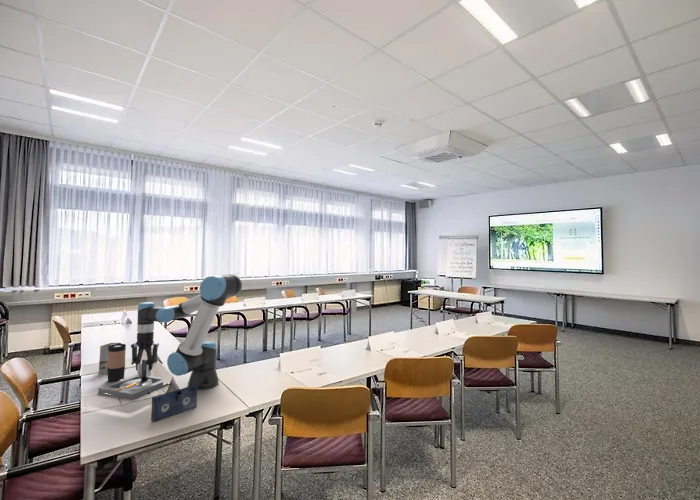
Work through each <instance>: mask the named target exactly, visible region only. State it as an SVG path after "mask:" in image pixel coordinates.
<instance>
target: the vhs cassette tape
mask: <svg viewBox="0 0 700 500" xmlns="http://www.w3.org/2000/svg"><path fill="white" fill-rule="evenodd" d="M197 401H198V390H197V386H196V385H193V386H190V387H188V386H187V387H183V388H180V389H179V388H178V389H176V390H173V391H168V392H165V393H162V394H158V395H154V396H152V397H151V412H150V413H151V416H150V419H151V420H150V421H151V422H152V423H156V422H159V421H162V420H165V419H169V418H171V417H174V416H177V415H180V414H183V413H185V412H189V411H191V410H194V409H196V408H197V407H198V406H197V405H198V404H197V403H198V402H197Z"/></svg>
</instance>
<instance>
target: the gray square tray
mask: <svg viewBox="0 0 700 500" xmlns="http://www.w3.org/2000/svg"><path fill="white" fill-rule="evenodd" d="M161 377H162V376H157V375H151V376H149V377H148V379H150V380H152V384H151V385H148V386H146V387H143V388H141V389H138V390H136V391H130V390H124V389H122V388H120V385H121V384H122V383H125V382H127V381H131V380H135V379H141V376H140V377H137V374H135V375H132V376H128V377H126V378H124V379H121V380H119V381H117V382H111V383H110V384H107V385H106V384H105V385H103V386H101V387H98V389H97V390H98V391H97V392H98V394H100V393H108V394H111V395H114V396H113V397H116V396H117V398H121V399H123V398H124V399H129V400H136V399H138V398H140V397H143V396H145V395H147V394H149V393H152V392H155V391H157V390H158V389H161V388H163V387H162V385H163V382H164V381H163V380H162V378H161ZM111 395H110V396H111Z"/></svg>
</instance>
